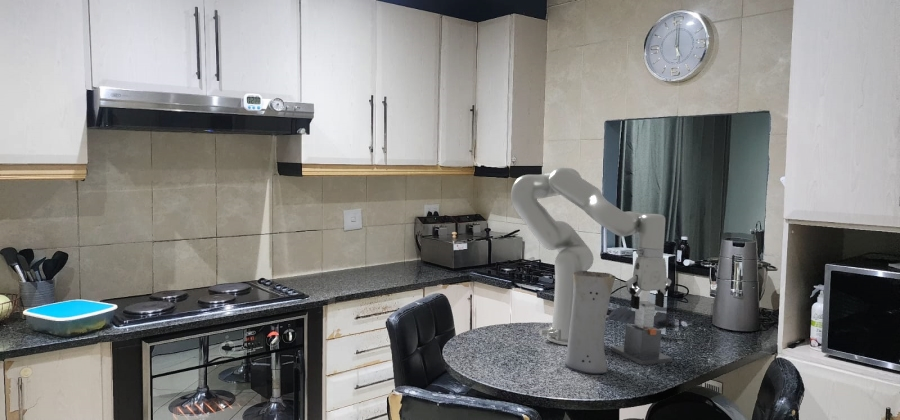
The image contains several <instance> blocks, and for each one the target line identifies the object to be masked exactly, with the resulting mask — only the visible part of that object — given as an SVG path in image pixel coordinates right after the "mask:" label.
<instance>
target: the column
mask: <svg viewBox="0 0 900 420" xmlns="http://www.w3.org/2000/svg"><path fill="white" fill-rule="evenodd" d="M635 311H636V312H635V323H634V327H635V328H637V329H640V330H642V331H644V330H648V329H653V323H654V316H655V313H656V312H655V311H656V305H655V302H651V301H649V300H648V301H640V302H639V309H635Z"/></svg>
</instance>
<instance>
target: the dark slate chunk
mask: <svg viewBox="0 0 900 420" xmlns="http://www.w3.org/2000/svg"><path fill="white" fill-rule="evenodd" d="M635 312H636V310H633V309H625V308H620V307H617V308H615V309H614V310H612V311H611V312H610V313H609V315H608V320H610V321H616V322H620V323H626V324H628V325H633V324H634V323H635ZM669 323H670V314H669V313H668V312H661V311H657V312H655V314H654V323H653V327H654V328H657V329H659V330H663V329H664V328H666V327H668V326H669Z"/></svg>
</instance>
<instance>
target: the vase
mask: <svg viewBox="0 0 900 420" xmlns="http://www.w3.org/2000/svg"><path fill="white" fill-rule="evenodd" d="M573 277H574V288H573V303H572V313H571V321H570V329H569V337H568V345H566V347H567V348H566V356H565V360H564V365H565V366H566V367H567V368H568V369H570V371H575V372H579V373H583V374H589V375H590V374H591V375H598V374H599V375H601V374H608V365H607V360H606V359H607V358H606V353H605V330H606V328H605V327H606V319H607V313H608V310H609V305H610V299H611V295H612V291H613V287H614V283H615V280H616V275H613V274H611V273H609V272H600V271H598V272H597V271H588V270H587V271H578V272H575V273H574V274H573Z"/></svg>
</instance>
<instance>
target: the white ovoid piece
mask: <svg viewBox="0 0 900 420" xmlns="http://www.w3.org/2000/svg"><path fill="white" fill-rule="evenodd" d="M632 288H633V284H632ZM636 291H637V290H636ZM638 296H639V297H640V301H648V302H649V299H650V298H651V291H643V290H642V291H641V292H640V294H639V295H638Z"/></svg>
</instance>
